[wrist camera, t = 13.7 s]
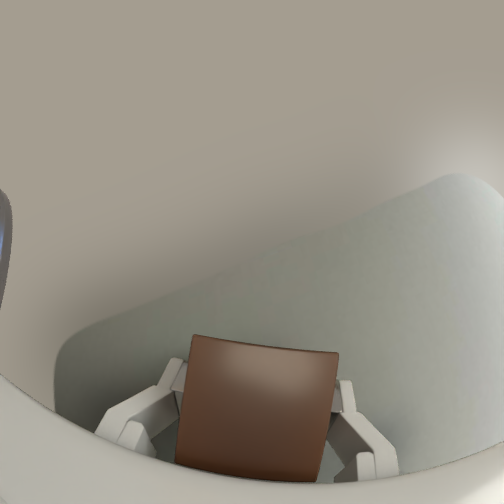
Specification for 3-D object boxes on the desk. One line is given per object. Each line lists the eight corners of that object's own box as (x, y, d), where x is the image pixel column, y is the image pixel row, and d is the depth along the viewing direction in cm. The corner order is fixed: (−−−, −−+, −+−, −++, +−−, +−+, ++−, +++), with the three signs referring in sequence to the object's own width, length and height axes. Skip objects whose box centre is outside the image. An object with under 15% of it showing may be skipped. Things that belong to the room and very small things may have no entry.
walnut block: (217, 413, 13) (173, 463, 6) (227, 345, 14) (192, 333, 7) (289, 423, 13) (316, 482, 5) (299, 355, 14) (340, 352, 7)
